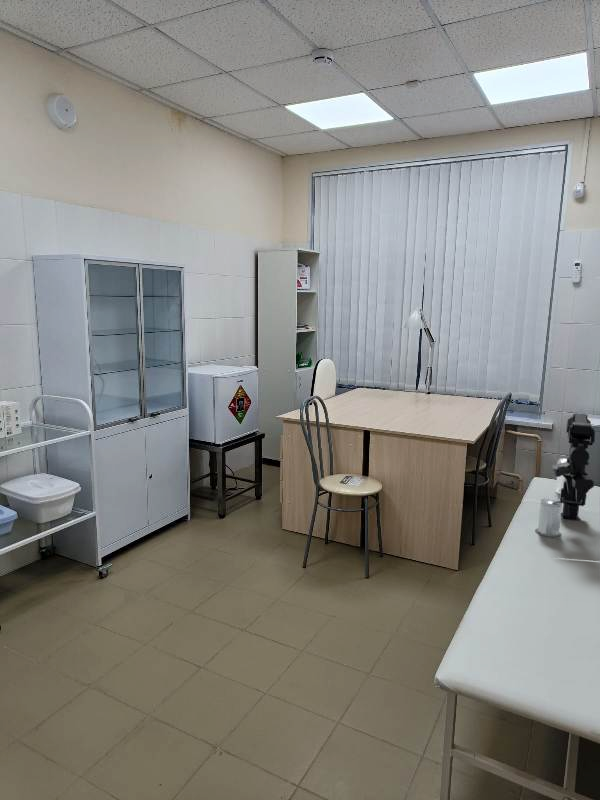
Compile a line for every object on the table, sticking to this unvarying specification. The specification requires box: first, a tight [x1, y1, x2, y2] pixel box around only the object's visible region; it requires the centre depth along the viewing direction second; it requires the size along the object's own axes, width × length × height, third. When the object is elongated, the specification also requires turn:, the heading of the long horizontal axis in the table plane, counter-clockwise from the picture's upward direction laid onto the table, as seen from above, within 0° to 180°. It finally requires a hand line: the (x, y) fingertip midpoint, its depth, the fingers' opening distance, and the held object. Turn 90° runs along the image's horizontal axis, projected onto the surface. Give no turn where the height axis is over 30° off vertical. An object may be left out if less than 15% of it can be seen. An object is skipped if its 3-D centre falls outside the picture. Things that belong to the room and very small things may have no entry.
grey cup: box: [537, 498, 563, 537], centre depth 202 cm, size 7×7×12 cm
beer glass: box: [554, 457, 568, 495], centre depth 246 cm, size 7×7×15 cm
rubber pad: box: [534, 528, 563, 539], centre depth 204 cm, size 9×9×1 cm
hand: (573, 498), depth 204 cm, fingers open, 9 cm apart
